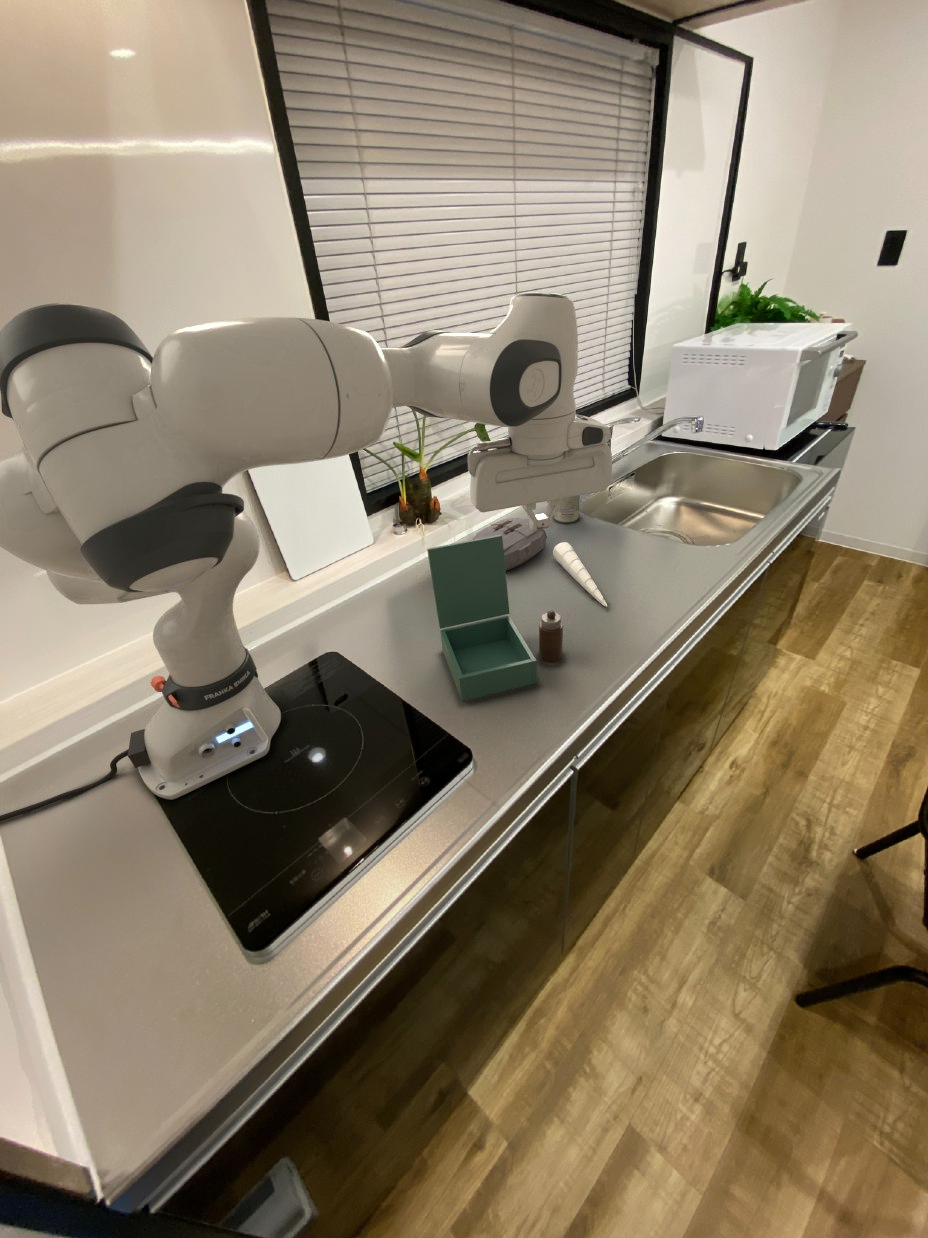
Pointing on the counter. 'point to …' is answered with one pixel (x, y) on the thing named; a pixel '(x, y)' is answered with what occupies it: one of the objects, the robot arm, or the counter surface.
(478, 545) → the lid
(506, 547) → the grey rounded bag
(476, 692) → the chest
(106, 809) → the counter surface
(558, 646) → the pepper mill
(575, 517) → the spray can
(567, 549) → the unicorn horn
